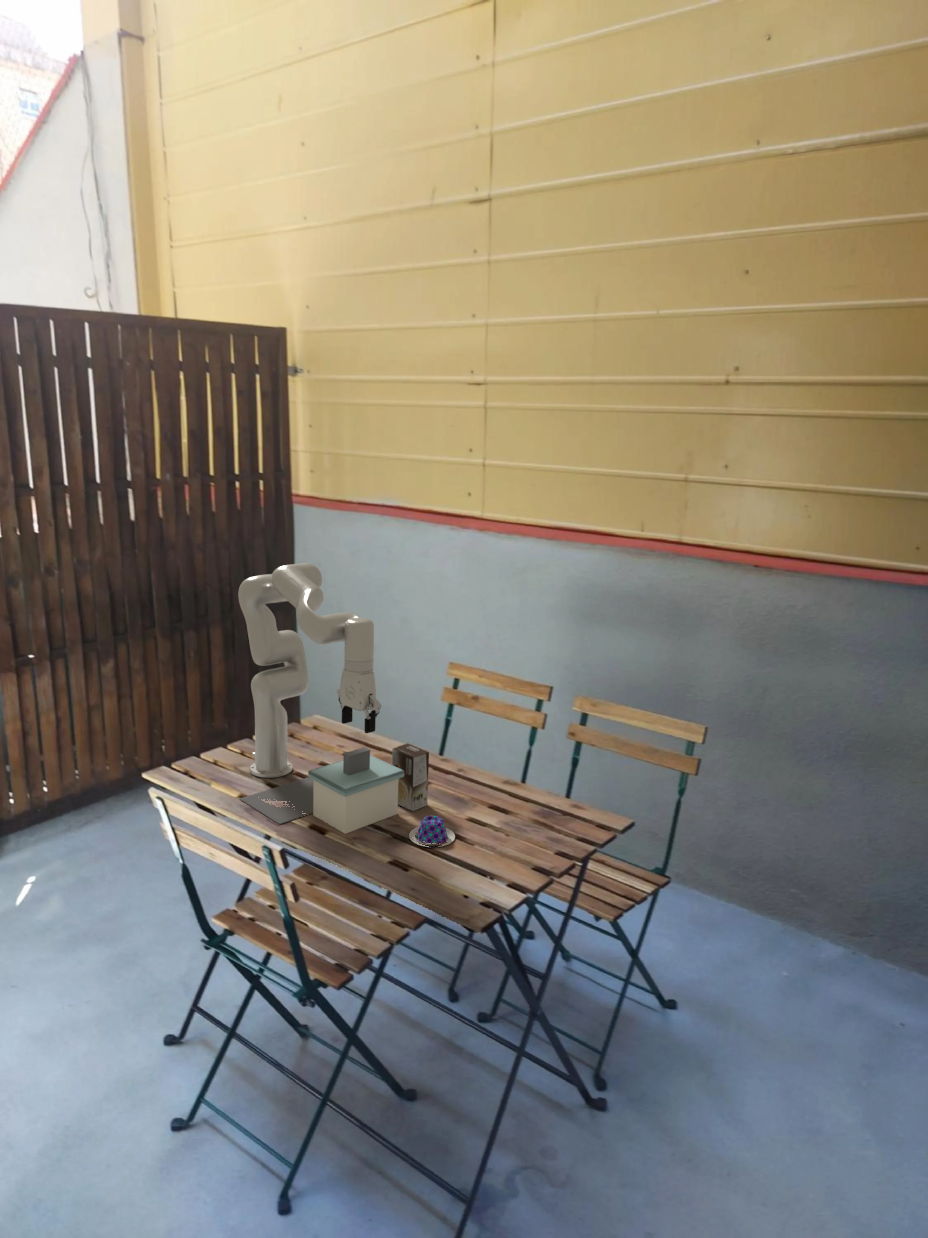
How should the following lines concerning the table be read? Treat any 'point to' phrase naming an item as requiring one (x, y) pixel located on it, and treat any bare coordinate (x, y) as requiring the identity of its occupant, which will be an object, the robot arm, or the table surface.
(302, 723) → the table surface
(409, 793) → the coffee box
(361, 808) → the box
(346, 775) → the lid
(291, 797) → the mat
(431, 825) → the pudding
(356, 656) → the robot arm
